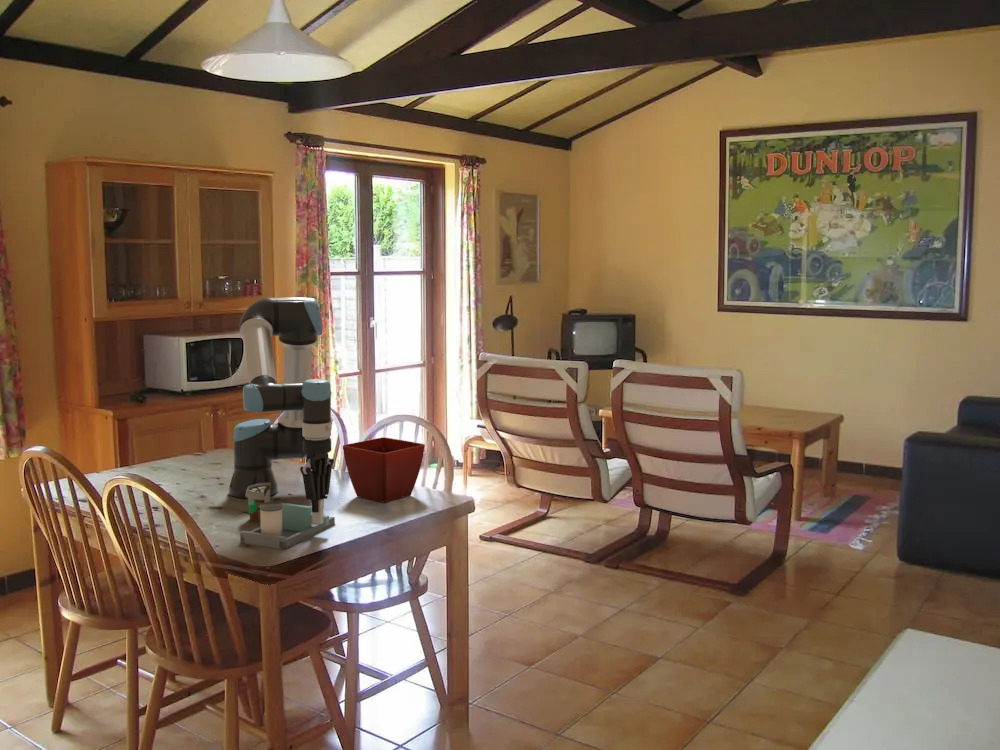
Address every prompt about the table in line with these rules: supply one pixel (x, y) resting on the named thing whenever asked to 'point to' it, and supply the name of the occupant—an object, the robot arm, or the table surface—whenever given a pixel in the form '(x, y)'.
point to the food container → (257, 499)
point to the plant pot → (383, 467)
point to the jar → (271, 518)
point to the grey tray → (282, 541)
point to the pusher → (298, 517)
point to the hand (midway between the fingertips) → (317, 522)
